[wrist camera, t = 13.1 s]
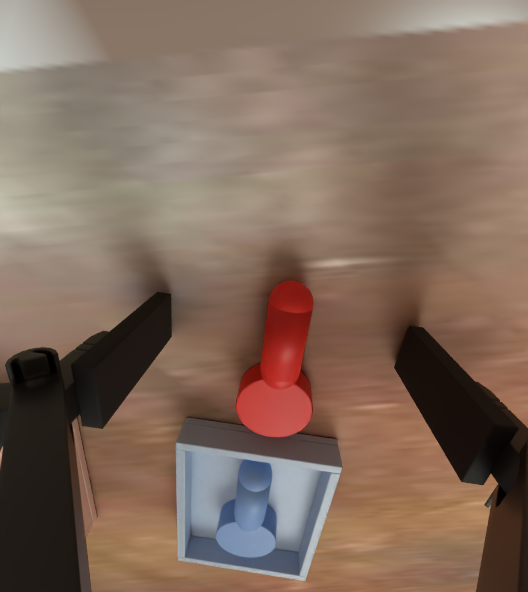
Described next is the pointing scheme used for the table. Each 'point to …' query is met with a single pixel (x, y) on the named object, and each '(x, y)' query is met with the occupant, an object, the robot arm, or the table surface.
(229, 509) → the blue spoon
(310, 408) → the red spoon
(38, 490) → the robot arm
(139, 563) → the table surface
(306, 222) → the table surface
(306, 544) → the blue tray
